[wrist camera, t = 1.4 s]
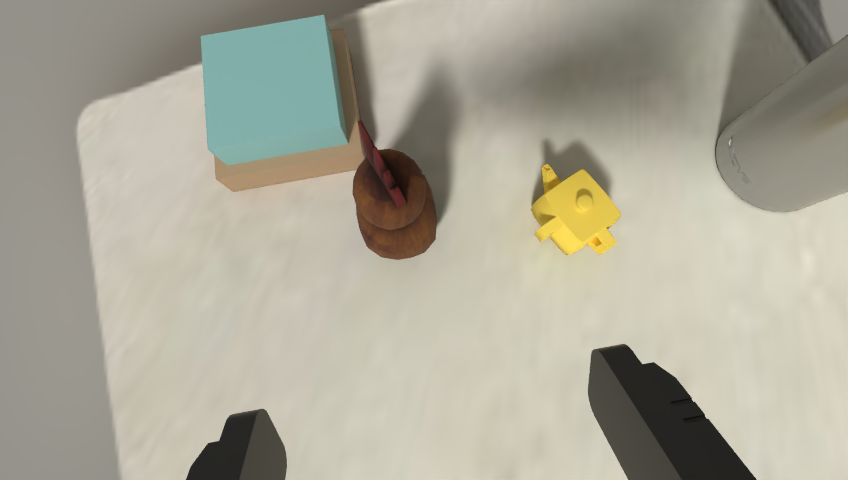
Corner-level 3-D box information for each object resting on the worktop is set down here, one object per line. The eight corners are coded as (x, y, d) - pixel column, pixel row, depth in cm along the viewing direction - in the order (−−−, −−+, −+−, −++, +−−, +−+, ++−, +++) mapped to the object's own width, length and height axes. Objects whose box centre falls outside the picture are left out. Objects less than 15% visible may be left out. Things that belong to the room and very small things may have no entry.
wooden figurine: (363, 196, 37) (314, 99, 22) (429, 186, 37) (423, 83, 22) (372, 272, 35) (326, 223, 21) (441, 262, 35) (444, 205, 21)
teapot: (501, 205, 36) (511, 182, 31) (555, 168, 37) (573, 141, 32) (560, 281, 35) (580, 271, 30) (615, 242, 35) (645, 226, 30)
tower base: (349, 51, 40) (334, 2, 34) (368, 167, 37) (355, 135, 32) (224, 73, 40) (187, 27, 34) (233, 191, 37) (195, 164, 31)
